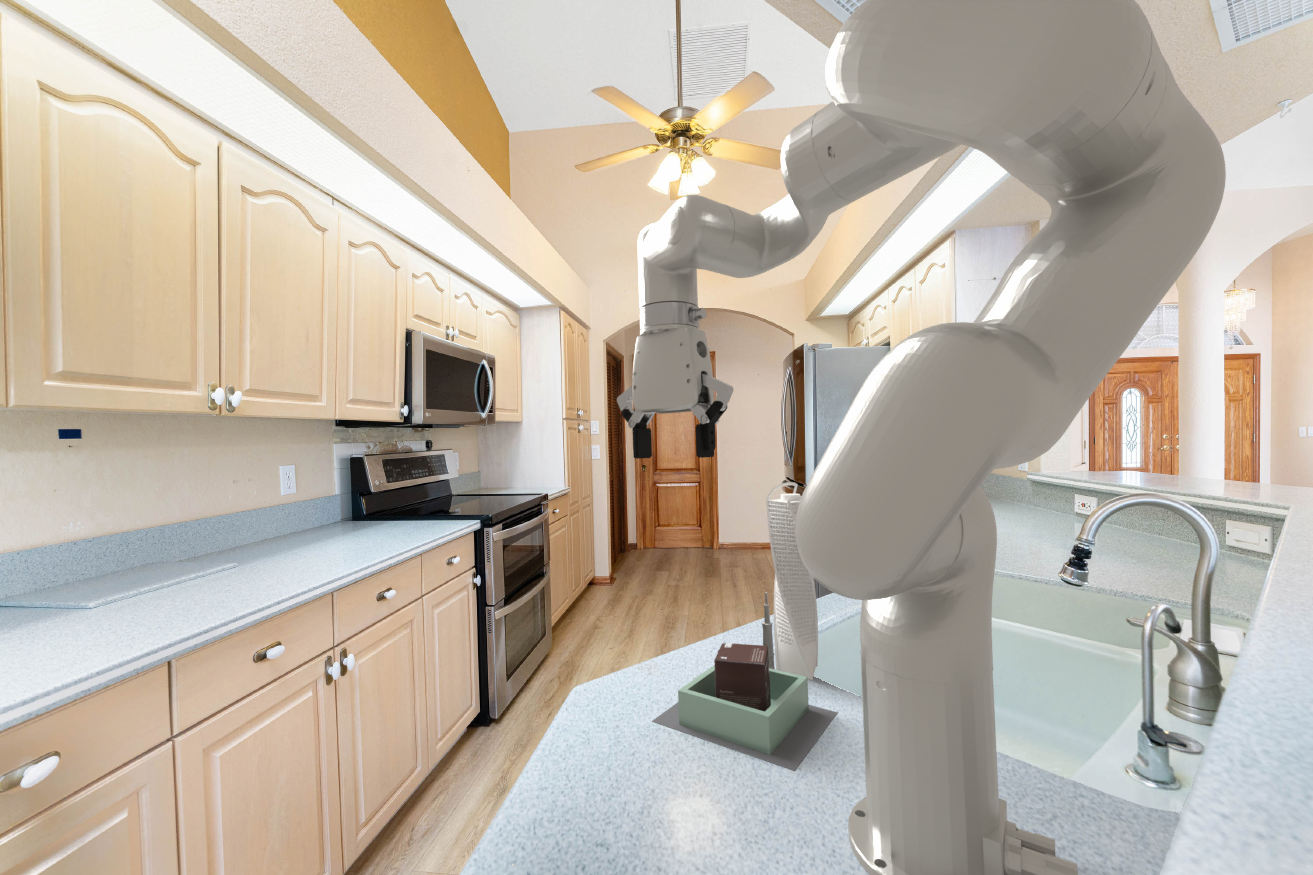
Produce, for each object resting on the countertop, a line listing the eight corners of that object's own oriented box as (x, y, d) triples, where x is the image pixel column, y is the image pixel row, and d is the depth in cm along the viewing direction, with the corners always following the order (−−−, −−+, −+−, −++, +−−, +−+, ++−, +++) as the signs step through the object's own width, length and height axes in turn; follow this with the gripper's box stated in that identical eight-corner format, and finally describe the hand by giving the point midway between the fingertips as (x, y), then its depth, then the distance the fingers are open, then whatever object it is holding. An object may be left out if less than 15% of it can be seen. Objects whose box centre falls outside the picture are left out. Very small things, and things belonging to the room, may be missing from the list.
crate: (808, 709, 65) (807, 676, 65) (770, 754, 56) (768, 716, 56) (726, 687, 72) (725, 657, 72) (679, 724, 63) (678, 690, 63)
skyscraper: (771, 660, 82) (765, 481, 83) (825, 667, 79) (818, 481, 80) (762, 683, 75) (755, 485, 75) (821, 691, 72) (813, 485, 72)
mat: (837, 715, 64) (837, 712, 64) (794, 774, 53) (794, 770, 53) (710, 681, 75) (710, 678, 75) (651, 724, 64) (651, 721, 64)
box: (767, 728, 60) (765, 664, 60) (715, 722, 62) (713, 659, 62) (771, 703, 66) (769, 644, 66) (723, 698, 68) (721, 641, 68)
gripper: (743, 318, 65) (747, 456, 65) (634, 338, 76) (638, 457, 75) (712, 305, 59) (717, 457, 59) (599, 330, 70) (602, 459, 69)
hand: (672, 457), depth 67 cm, fingers open, 9 cm apart
